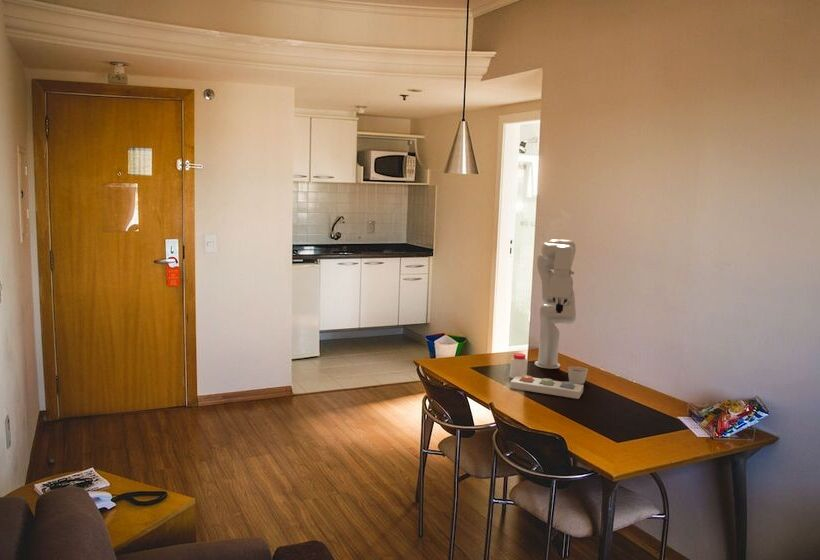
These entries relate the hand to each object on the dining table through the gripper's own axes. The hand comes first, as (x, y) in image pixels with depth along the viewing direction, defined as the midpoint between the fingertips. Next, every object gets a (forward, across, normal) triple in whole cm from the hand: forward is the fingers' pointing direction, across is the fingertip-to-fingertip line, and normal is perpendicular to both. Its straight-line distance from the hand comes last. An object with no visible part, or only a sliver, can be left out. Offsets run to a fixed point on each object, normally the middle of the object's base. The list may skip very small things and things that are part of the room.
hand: (559, 312), depth 312 cm
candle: (+32, -10, -3) cm, 34 cm away
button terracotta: (+32, +9, +17) cm, 37 cm away
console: (+32, 0, +17) cm, 36 cm away
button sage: (+32, 0, +17) cm, 36 cm away
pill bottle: (+32, +16, +4) cm, 36 cm away
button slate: (+32, -9, +17) cm, 37 cm away
